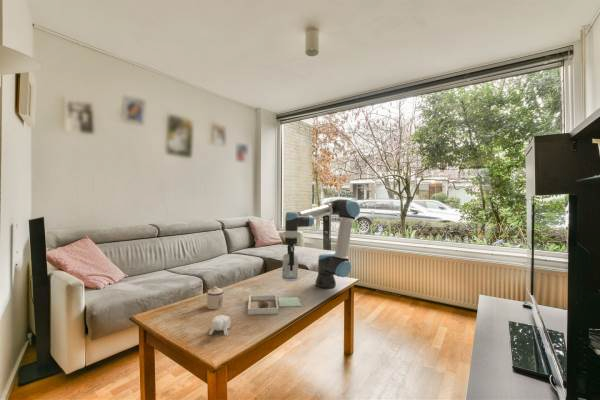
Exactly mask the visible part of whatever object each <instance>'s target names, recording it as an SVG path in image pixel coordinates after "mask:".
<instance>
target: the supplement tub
mask: <svg viewBox="0 0 600 400" xmlns="http://www.w3.org/2000/svg"><path fill="white" fill-rule="evenodd" d="M288 264H289V254H288V253H287V254H285V253H284V254H283V256H282V268H281V269H282V273H281V274H282V275H281V278H282V280H283V281H286V282H295V281H297V280H298V277H299V276H298V275H299V274H298V273H299V255H297V254H295V253H294V266H293V276H289V265H288Z"/></svg>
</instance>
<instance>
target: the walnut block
mask: <svg viewBox="0 0 600 400" xmlns="http://www.w3.org/2000/svg"><path fill="white" fill-rule="evenodd" d="M257 308H270V307H269V300H257Z"/></svg>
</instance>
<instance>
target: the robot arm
mask: <svg viewBox="0 0 600 400" xmlns="http://www.w3.org/2000/svg"><path fill="white" fill-rule="evenodd" d="M360 213H361V207H360V205H359V203H358V202H357V201H356V200H354V199H335V200H331V201H329V202H326V203H324V205H318V206H316V207H315V206H314V207H313V208H308V209H305V210H301V211H298V212H296V211H287V212H286V213H285V218H284V219H285V226H284V228H285V229H284V230H285V231H284V233H283V234H284V243H285V244H286V245H287V246H286V247H287V254H289V264H288V265H289V276H293V266H294V254H295V246H294V245H297V244H298V238H297V237H298V231H299V230H298V228H310V227H312V226H314V224H315V219H317V218H318V219H319V218H321V217H325V216H333V215H335V216H338V219H339V220H340V221H339V227H338V233H337V240H336V245H335V251H334V254H333V253H322V254H319V255H318V260H317V263H318V264H317V276H316V279H315V281H314V282H315V287H317V288H321V289H332V288H333V287H334V288H335V287H336V285H337V282H336V279H335V276H336V277H340V278H345V277H347V276H348V275H349V274H350V273H351V270H352V264H351V262H350V261H349V259H350V258H349V256H348V253H349V247H350V246H349V245H350V241H351V240H350V239H351V233H352V228H353V222H354V221H355V220H356V218H357V217H358V216H359V215H360Z"/></svg>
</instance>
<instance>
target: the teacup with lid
mask: <svg viewBox="0 0 600 400" xmlns="http://www.w3.org/2000/svg"><path fill="white" fill-rule="evenodd" d="M206 298H207V301H206V303H207V304H206V308H207V309H209V310H218V309H220V308H222V307H223V302H224V301H223V300H224V290H223V288H219V287H218V286H216V285H215V286H213V287H212V288H211V289H207V291H206Z"/></svg>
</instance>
